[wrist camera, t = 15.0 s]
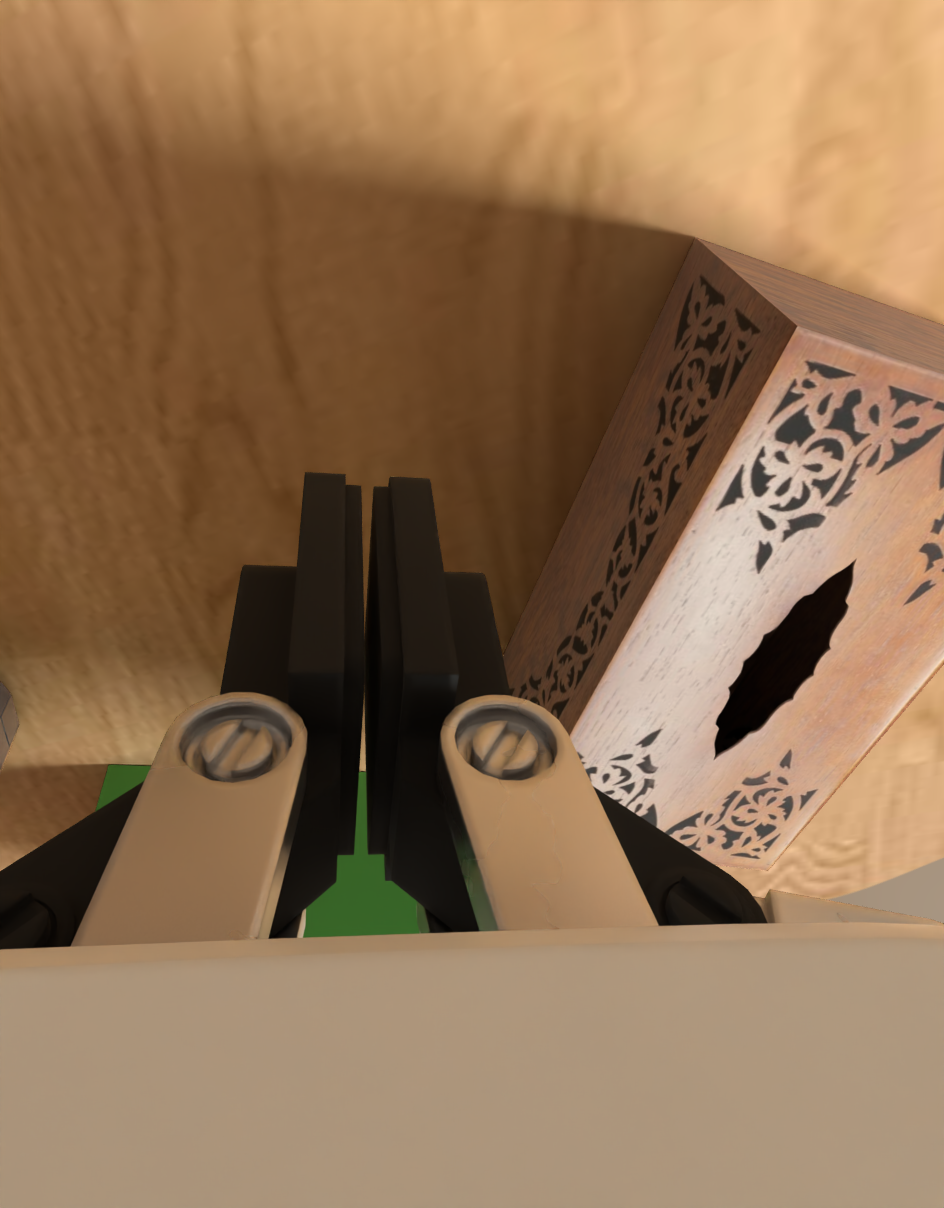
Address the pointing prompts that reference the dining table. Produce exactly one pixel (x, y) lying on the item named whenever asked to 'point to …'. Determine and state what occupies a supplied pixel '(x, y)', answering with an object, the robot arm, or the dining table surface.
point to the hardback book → (347, 904)
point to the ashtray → (6, 724)
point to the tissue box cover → (748, 558)
